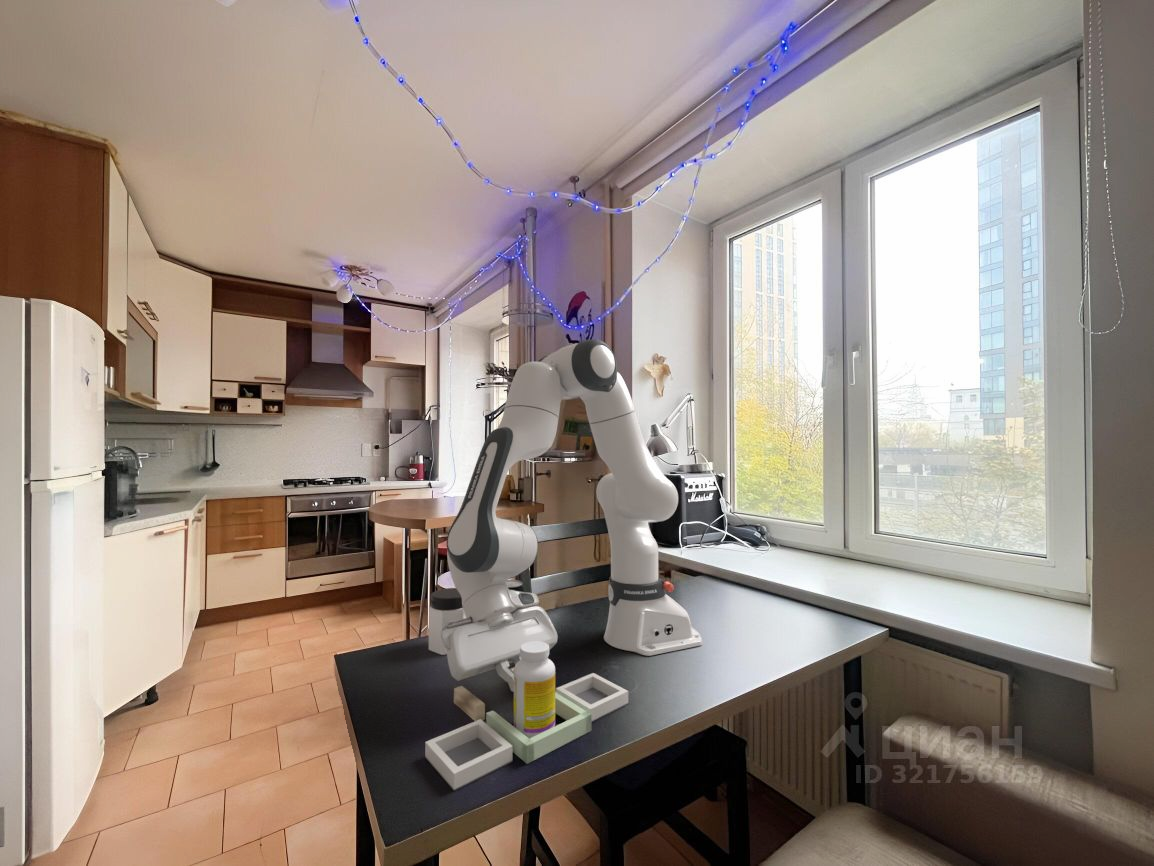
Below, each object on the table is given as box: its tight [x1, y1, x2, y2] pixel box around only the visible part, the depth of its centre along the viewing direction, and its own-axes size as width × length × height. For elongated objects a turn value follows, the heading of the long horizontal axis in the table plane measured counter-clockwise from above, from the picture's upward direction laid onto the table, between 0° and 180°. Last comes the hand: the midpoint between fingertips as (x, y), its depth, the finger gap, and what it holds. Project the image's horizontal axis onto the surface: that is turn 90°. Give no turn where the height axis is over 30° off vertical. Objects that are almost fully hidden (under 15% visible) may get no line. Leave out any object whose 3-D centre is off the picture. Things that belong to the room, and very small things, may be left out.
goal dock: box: [485, 691, 593, 765], centre depth 77 cm, size 11×12×2 cm
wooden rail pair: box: [453, 667, 514, 722], centre depth 86 cm, size 8×13×2 cm, turn 131°
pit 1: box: [424, 719, 514, 792], centre depth 69 cm, size 9×9×2 cm
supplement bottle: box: [513, 641, 556, 739], centre depth 77 cm, size 7×7×13 cm
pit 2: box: [555, 672, 629, 723], centre depth 85 cm, size 9×9×2 cm
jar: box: [428, 587, 466, 656], centre depth 108 cm, size 9×8×12 cm
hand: (521, 687), depth 80 cm, fingers closed, pressing on supplement bottle
